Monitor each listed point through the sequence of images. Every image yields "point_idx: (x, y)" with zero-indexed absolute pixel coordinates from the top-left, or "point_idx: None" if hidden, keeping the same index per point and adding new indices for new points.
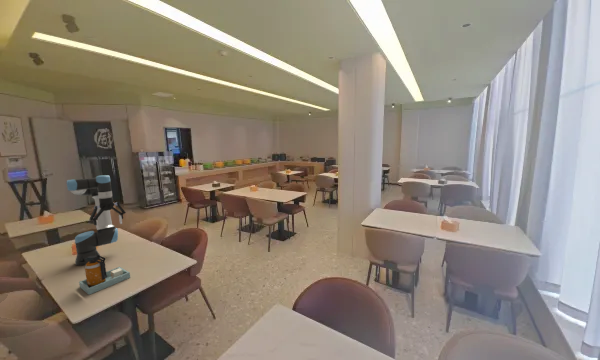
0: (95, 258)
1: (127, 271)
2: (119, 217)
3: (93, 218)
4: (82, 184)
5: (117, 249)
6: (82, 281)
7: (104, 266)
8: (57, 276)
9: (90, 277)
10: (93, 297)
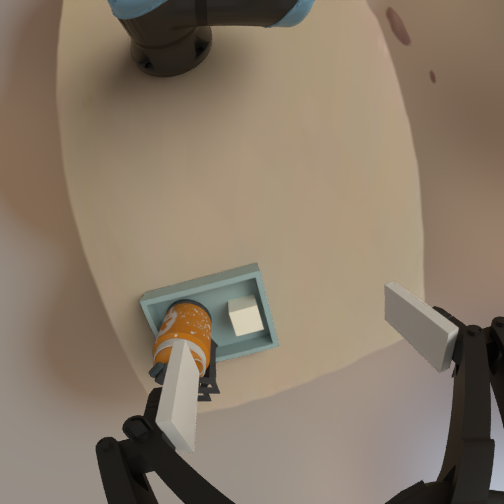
0: None
1: (275, 335)
2: (426, 333)
3: (139, 455)
4: None
5: None
6: (148, 304)
7: (213, 367)
8: (84, 126)
9: None
10: None
